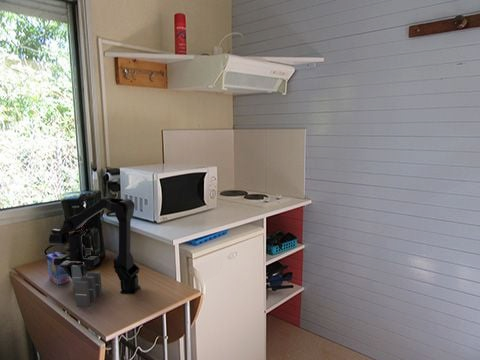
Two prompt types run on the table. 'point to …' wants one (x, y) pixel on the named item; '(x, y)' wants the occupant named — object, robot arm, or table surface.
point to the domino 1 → (76, 273)
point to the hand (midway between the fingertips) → (78, 278)
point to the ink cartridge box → (56, 269)
